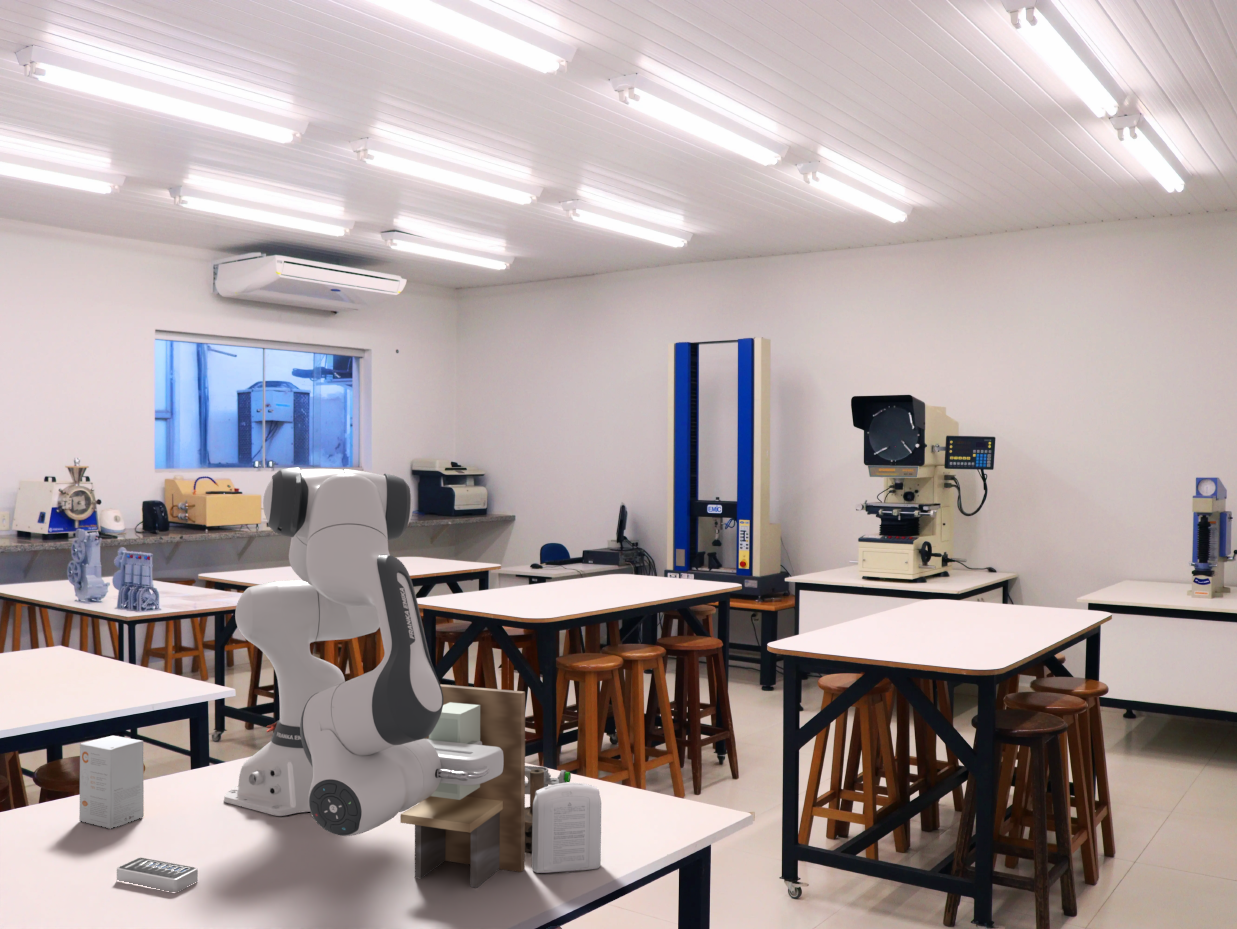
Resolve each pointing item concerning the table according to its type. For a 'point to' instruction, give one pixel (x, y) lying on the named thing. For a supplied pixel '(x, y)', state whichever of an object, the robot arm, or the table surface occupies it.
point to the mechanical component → (546, 777)
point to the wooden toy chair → (479, 797)
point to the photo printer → (566, 828)
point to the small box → (111, 781)
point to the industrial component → (535, 785)
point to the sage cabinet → (457, 740)
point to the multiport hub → (157, 874)
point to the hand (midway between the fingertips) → (458, 744)
